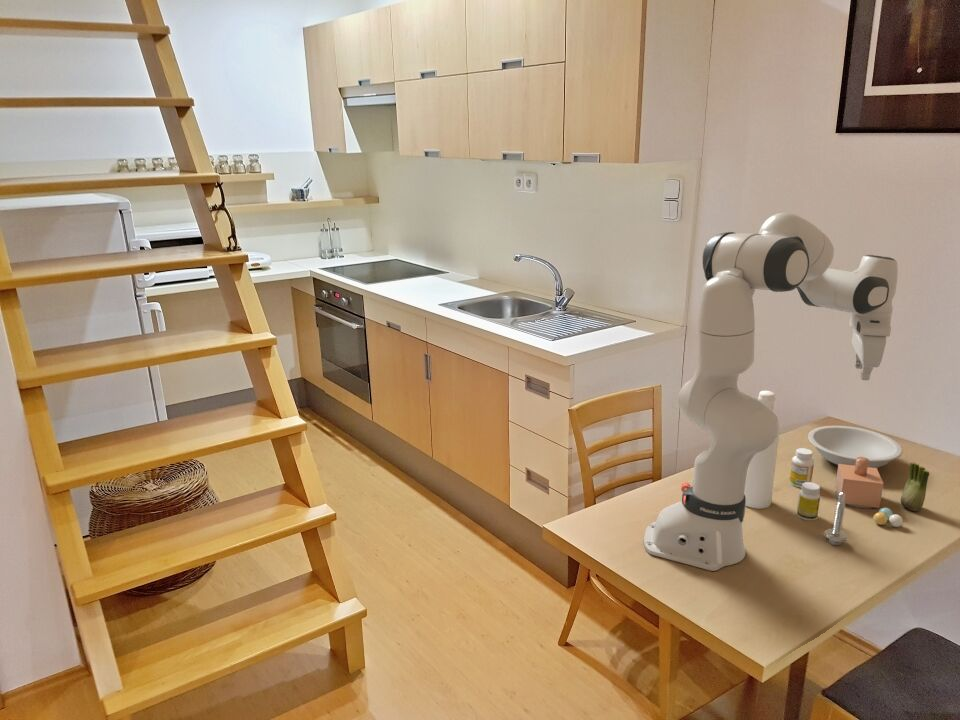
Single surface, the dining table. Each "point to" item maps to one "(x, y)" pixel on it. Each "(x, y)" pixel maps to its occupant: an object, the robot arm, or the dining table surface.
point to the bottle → (762, 467)
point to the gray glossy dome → (854, 505)
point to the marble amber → (880, 518)
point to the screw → (837, 523)
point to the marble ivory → (895, 520)
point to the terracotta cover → (859, 483)
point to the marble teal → (886, 512)
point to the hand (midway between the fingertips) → (861, 373)
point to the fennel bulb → (915, 487)
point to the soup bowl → (854, 445)
